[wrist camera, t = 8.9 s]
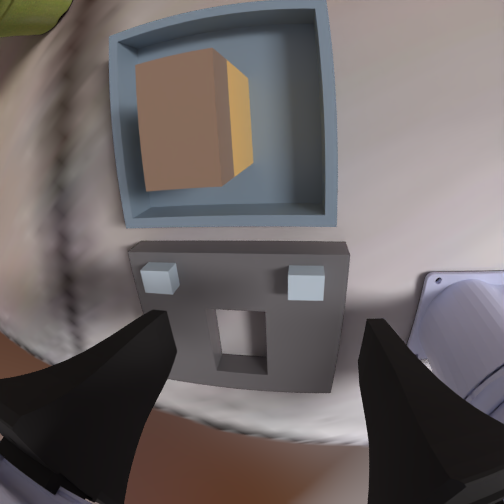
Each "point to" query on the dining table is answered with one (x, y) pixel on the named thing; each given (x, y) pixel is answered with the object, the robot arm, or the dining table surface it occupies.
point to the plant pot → (30, 16)
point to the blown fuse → (193, 120)
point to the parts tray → (261, 110)
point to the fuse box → (249, 308)
